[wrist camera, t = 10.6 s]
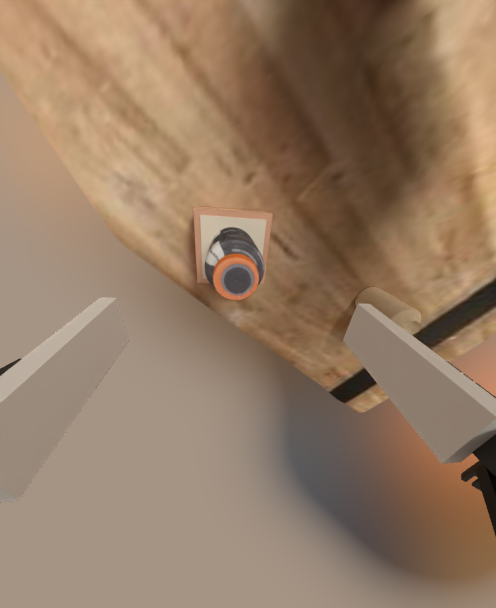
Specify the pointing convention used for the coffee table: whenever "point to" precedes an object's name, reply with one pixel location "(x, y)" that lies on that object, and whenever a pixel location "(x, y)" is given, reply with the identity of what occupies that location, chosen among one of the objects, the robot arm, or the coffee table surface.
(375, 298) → the candle
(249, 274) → the pill bottle
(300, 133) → the coffee table surface
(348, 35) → the coffee table surface
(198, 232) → the riser
